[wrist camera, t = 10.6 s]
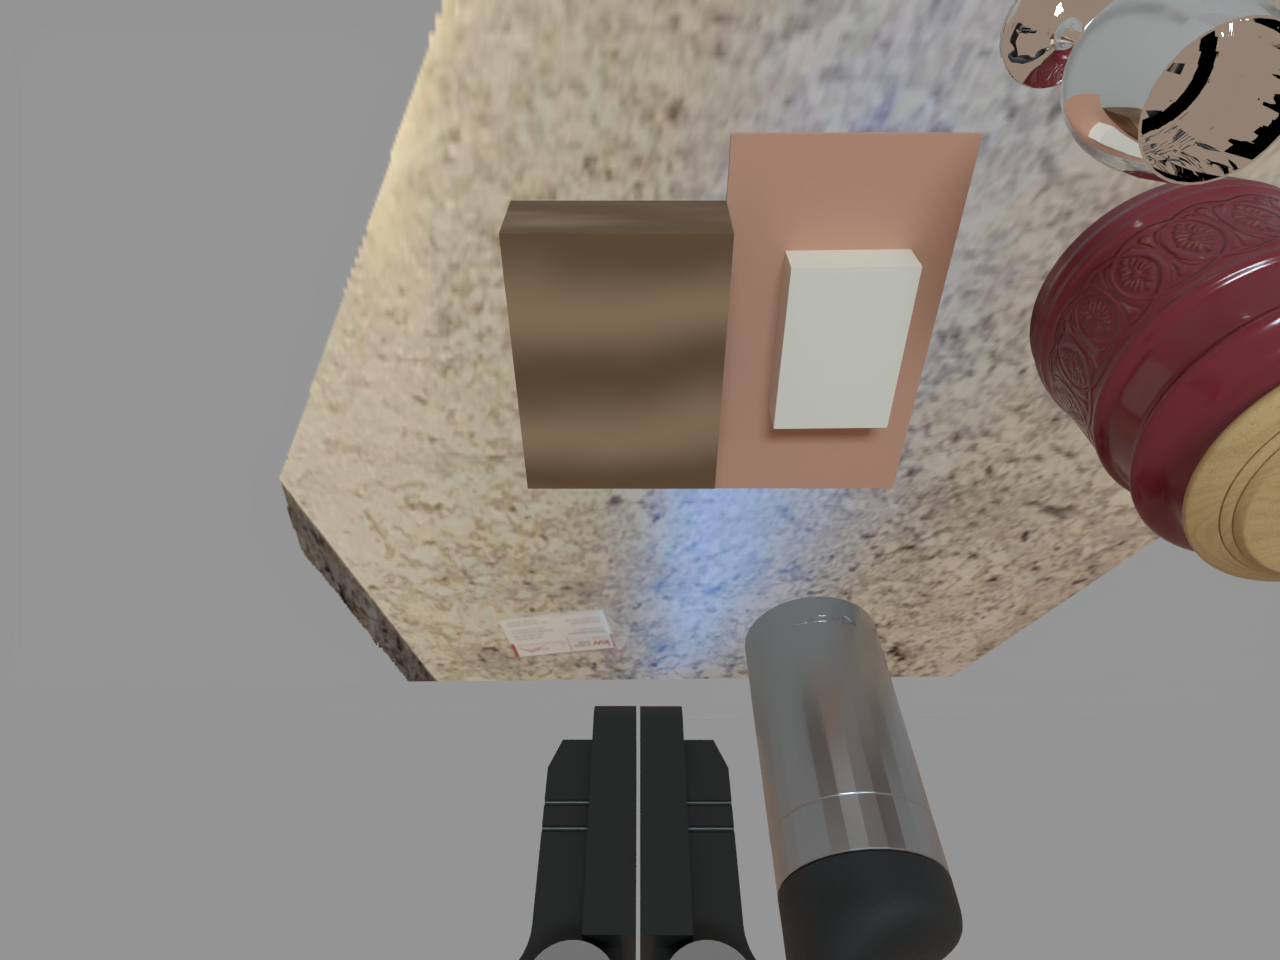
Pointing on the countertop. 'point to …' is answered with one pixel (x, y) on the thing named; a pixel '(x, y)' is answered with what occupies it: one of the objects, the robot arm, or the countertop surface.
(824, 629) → the robot arm
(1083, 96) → the wineglass
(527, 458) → the block
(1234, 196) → the canister
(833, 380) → the pale grey rectangular block
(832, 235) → the mat
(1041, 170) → the countertop surface
